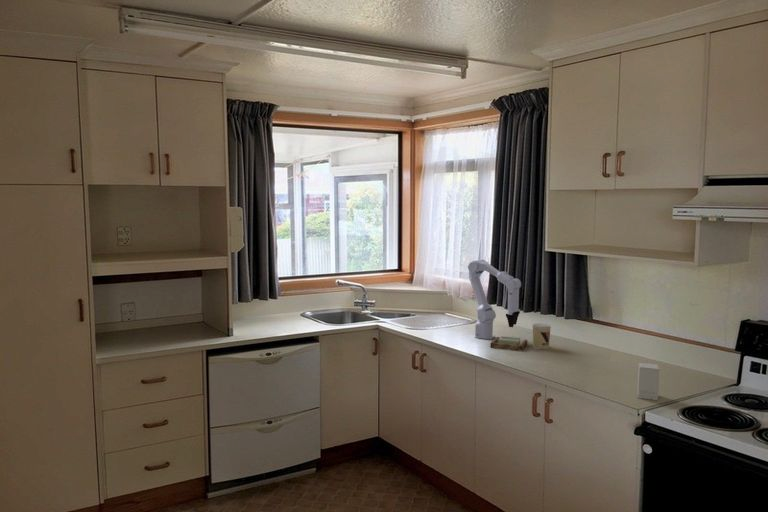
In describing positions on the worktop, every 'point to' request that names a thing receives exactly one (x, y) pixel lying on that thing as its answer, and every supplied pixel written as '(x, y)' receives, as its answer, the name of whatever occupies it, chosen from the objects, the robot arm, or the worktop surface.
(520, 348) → the wooden tray
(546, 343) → the coffee cup
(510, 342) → the green block
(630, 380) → the worktop surface
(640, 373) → the supplement box
